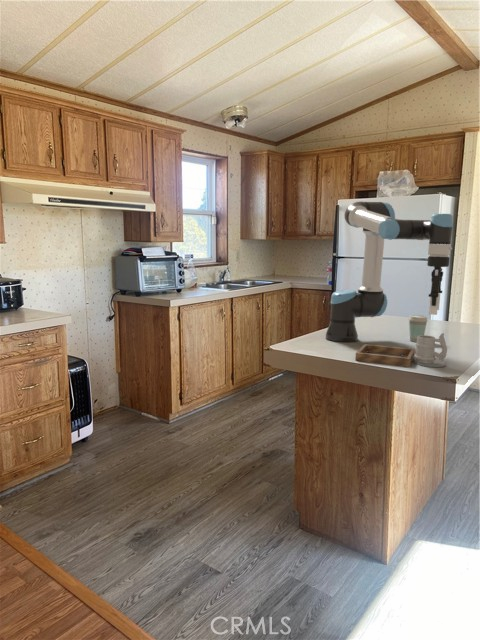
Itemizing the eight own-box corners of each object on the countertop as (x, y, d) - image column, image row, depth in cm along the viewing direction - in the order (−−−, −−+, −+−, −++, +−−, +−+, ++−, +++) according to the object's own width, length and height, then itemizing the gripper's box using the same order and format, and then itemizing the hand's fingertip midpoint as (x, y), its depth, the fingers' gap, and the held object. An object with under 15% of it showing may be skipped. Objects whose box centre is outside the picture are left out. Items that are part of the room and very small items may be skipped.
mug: (416, 358, 192) (418, 328, 190) (447, 362, 186) (450, 332, 184) (411, 362, 186) (413, 331, 184) (444, 366, 180) (446, 335, 178)
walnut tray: (355, 360, 190) (355, 352, 190) (364, 351, 207) (364, 344, 206) (409, 366, 182) (410, 358, 181) (414, 356, 198) (414, 349, 198)
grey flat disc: (413, 365, 184) (413, 363, 183) (416, 359, 193) (416, 357, 193) (444, 368, 179) (445, 367, 179) (446, 362, 189) (446, 360, 189)
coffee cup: (427, 343, 224) (429, 318, 222) (408, 342, 226) (410, 317, 224) (424, 339, 233) (426, 315, 231) (405, 338, 234) (407, 314, 232)
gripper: (448, 257, 167) (443, 317, 170) (450, 255, 189) (446, 308, 193) (425, 256, 170) (420, 315, 173) (430, 254, 192) (426, 307, 196)
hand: (434, 312), depth 183 cm, fingers open, 13 cm apart
